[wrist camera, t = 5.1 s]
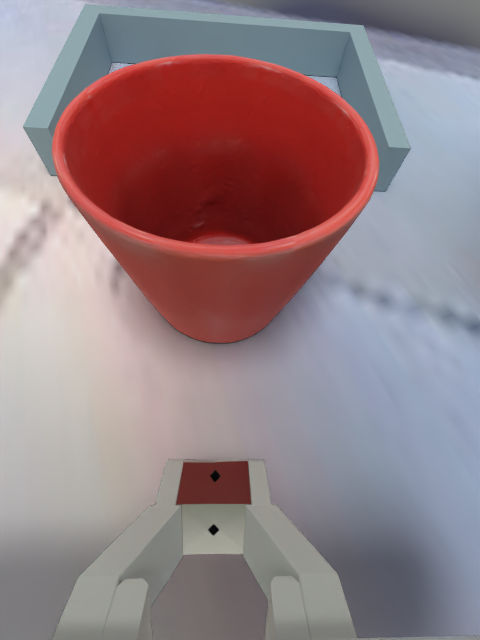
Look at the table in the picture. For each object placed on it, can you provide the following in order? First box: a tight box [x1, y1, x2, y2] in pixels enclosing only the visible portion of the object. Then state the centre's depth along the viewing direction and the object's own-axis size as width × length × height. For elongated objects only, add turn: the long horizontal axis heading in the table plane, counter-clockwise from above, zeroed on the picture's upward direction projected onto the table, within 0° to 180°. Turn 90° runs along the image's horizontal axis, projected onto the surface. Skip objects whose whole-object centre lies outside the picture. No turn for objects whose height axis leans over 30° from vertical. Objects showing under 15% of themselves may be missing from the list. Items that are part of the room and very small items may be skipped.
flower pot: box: [52, 54, 379, 343], centre depth 15 cm, size 11×11×10 cm
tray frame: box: [23, 4, 411, 191], centre depth 25 cm, size 25×18×4 cm
